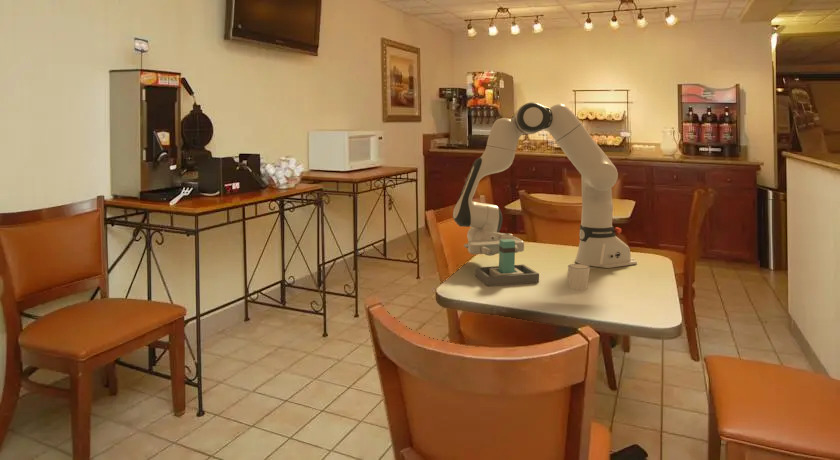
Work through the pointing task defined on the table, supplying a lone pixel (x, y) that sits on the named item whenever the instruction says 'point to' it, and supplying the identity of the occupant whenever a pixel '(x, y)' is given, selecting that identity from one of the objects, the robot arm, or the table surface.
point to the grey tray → (506, 275)
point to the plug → (506, 256)
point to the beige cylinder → (578, 276)
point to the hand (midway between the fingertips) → (503, 251)
